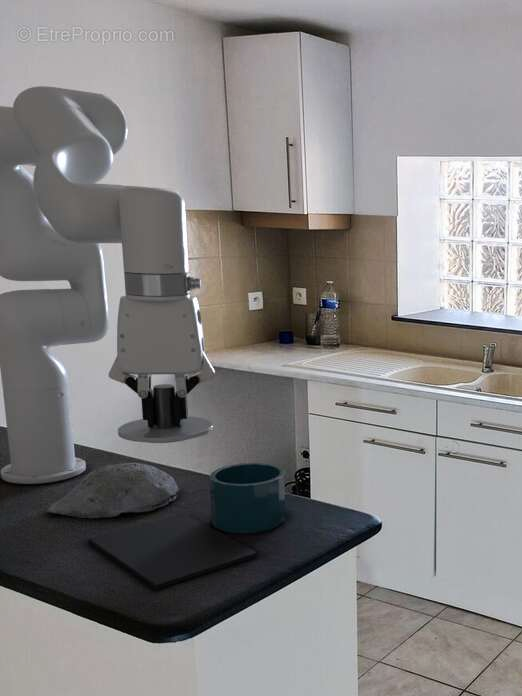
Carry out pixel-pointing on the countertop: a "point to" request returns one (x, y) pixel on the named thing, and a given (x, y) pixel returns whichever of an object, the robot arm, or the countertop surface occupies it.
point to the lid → (164, 422)
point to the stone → (118, 492)
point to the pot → (247, 497)
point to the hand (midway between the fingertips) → (166, 423)
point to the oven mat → (172, 550)
